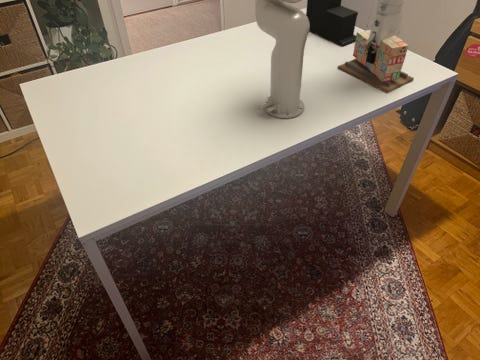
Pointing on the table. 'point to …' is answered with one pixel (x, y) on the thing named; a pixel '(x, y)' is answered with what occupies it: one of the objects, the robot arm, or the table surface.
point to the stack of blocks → (382, 56)
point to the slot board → (373, 76)
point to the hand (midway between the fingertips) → (377, 58)
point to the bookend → (332, 21)
